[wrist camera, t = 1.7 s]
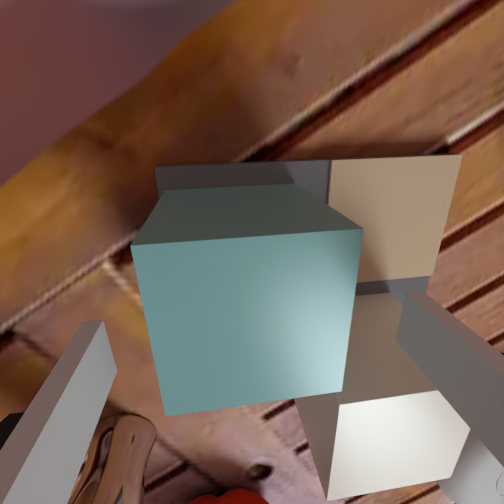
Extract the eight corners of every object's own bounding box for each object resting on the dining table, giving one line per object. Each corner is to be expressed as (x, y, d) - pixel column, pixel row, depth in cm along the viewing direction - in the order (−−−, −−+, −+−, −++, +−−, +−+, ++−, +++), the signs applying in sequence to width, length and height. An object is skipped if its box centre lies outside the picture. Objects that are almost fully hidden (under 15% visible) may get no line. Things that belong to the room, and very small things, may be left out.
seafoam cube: (181, 303, 23) (165, 416, 14) (165, 190, 20) (130, 245, 11) (291, 292, 24) (341, 391, 15) (295, 183, 21) (363, 228, 12)
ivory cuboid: (288, 380, 28) (326, 500, 19) (290, 302, 25) (339, 404, 16) (375, 369, 30) (450, 477, 20) (390, 292, 26) (489, 382, 17)
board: (190, 389, 28) (189, 401, 27) (156, 165, 20) (153, 168, 19) (400, 361, 31) (408, 370, 30) (449, 153, 23) (462, 154, 21)
